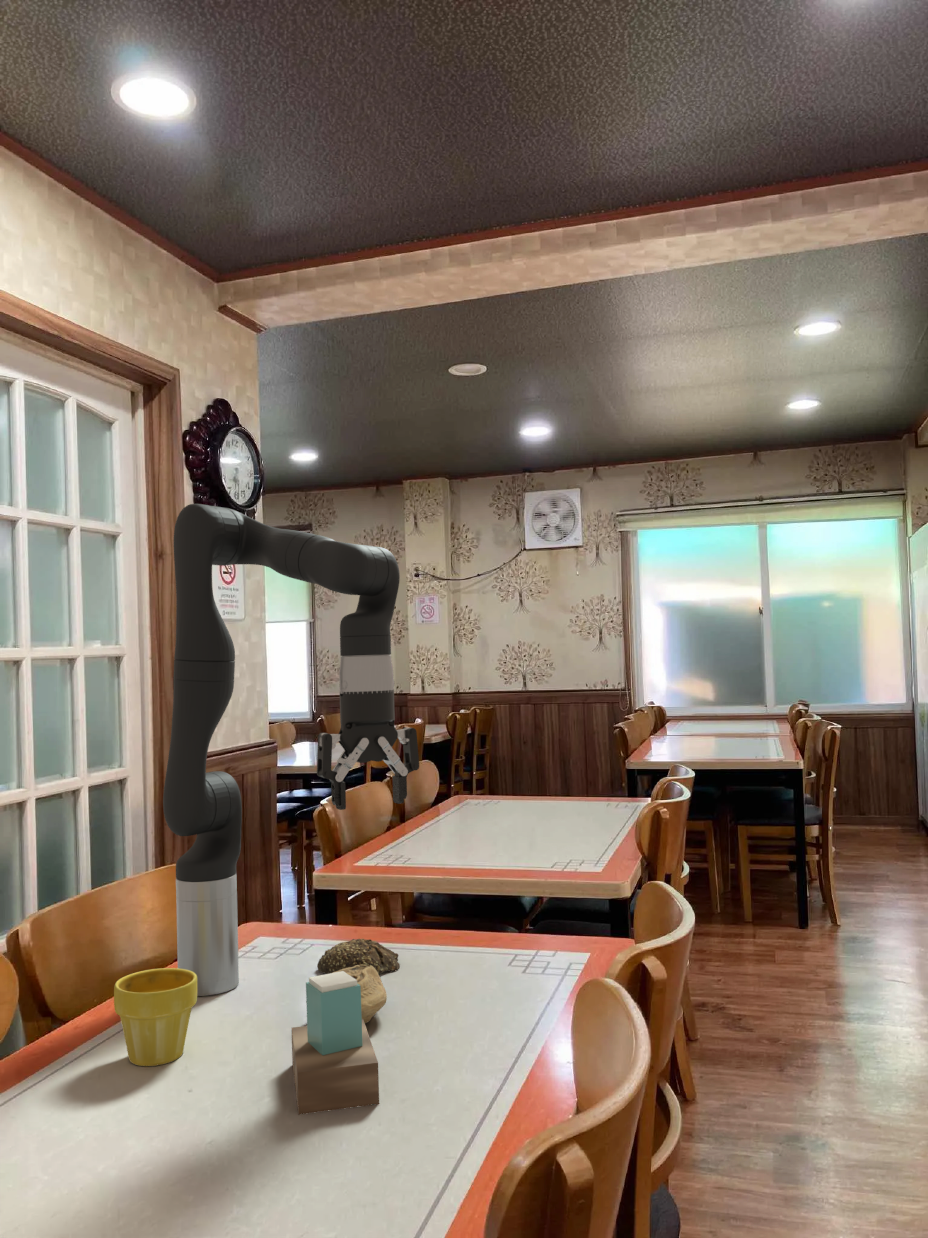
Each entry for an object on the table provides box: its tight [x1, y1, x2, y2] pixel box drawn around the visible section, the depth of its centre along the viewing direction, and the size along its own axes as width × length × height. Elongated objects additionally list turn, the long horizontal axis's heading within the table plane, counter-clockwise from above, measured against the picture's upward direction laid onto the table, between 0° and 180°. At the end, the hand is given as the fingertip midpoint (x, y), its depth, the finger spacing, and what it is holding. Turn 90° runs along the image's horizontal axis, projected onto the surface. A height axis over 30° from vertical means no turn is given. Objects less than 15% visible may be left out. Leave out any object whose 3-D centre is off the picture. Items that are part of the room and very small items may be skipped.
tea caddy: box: [305, 971, 362, 1055], centre depth 117 cm, size 5×5×8 cm
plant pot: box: [113, 967, 198, 1067], centre depth 126 cm, size 10×10×10 cm
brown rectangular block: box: [291, 1020, 380, 1116], centre depth 116 cm, size 14×9×5 cm, turn 13°
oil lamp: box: [305, 965, 388, 1024], centre depth 138 cm, size 11×15×8 cm
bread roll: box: [317, 938, 401, 975], centre depth 161 cm, size 13×12×5 cm
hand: (369, 806), depth 135 cm, fingers open, 8 cm apart
